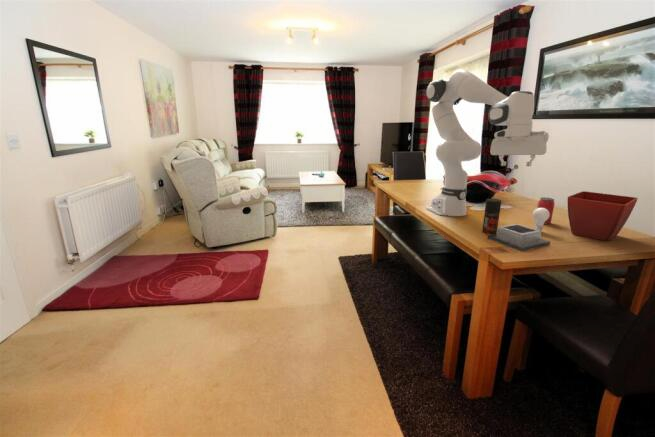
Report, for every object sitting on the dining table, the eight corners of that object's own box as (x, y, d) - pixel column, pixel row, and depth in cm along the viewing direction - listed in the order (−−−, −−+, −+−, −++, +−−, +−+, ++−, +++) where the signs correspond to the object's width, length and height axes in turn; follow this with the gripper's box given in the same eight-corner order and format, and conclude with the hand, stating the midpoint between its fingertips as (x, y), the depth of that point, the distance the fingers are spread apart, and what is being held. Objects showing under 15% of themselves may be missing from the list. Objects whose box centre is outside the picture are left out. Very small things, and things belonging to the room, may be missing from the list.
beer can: (553, 224, 153) (558, 200, 149) (538, 224, 154) (542, 200, 151) (547, 220, 159) (551, 197, 156) (532, 220, 160) (536, 197, 157)
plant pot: (559, 233, 141) (566, 196, 136) (575, 225, 152) (582, 190, 147) (614, 246, 126) (625, 204, 121) (628, 236, 137) (638, 197, 132)
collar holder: (487, 238, 136) (488, 226, 135) (513, 233, 142) (515, 221, 141) (521, 251, 122) (524, 237, 121) (549, 244, 128) (552, 231, 126)
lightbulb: (548, 231, 143) (553, 208, 140) (542, 234, 140) (547, 210, 137) (533, 228, 148) (537, 205, 145) (527, 230, 145) (531, 207, 142)
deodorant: (479, 232, 143) (484, 200, 139) (485, 229, 147) (489, 198, 143) (493, 235, 139) (498, 202, 135) (498, 232, 143) (503, 200, 139)
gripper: (550, 130, 126) (546, 165, 130) (494, 133, 140) (492, 165, 143) (547, 130, 122) (543, 167, 125) (490, 133, 136) (487, 166, 139)
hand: (515, 166), depth 134 cm, fingers open, 8 cm apart
